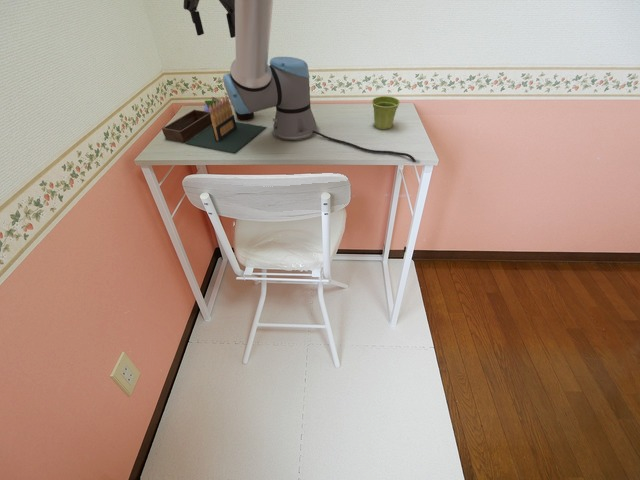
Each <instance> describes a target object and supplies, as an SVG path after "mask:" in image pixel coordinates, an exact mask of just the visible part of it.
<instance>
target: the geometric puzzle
mask: <svg viewBox="0 0 640 480" xmlns="http://www.w3.org/2000/svg"><path fill="white" fill-rule="evenodd" d="M219 99H220V98H217V97H214V96H212V97H211V100H207V99H206V100H204V106H203V107H204V108H203V111H207V112H210V110H209V105H211V107H212V109H213V103H214V104H215V106H216V101H217V102H218V103H219ZM222 104H223V103H222Z"/></svg>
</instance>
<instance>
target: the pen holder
mask: <svg viewBox="0 0 640 480" xmlns="http://www.w3.org/2000/svg"><path fill="white" fill-rule="evenodd" d="M211 125H212V121H211V115H210V112H207V111H204V110H200V109H192V110H190V111H189V112H187V113H186V114H184V115H182V116H180V117H179V118H177V119H175V120H173V121H171V122H170V123H168V124H167V125H165V126H163V127H162V128H161V130H162V133H163V136H164V138H165V140H166V141H171V142H177V143H182V144H186V142H187V141H189V140H190V139H192V138H193V137H195V136H196V135H198V134H199V133H201V132H202V131H204V130H205V129H207V128H208V127H210V126H211Z"/></svg>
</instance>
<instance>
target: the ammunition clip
mask: <svg viewBox="0 0 640 480" xmlns="http://www.w3.org/2000/svg"><path fill="white" fill-rule="evenodd" d="M218 99H219V103H218V102H217V101H216V106H215V104H214V103H213V109H212V107H211V105H209V110H210V115H211V121H212V125H213V126H212V129H213V133H214V137H215V141H221V140H223V139H224V138H225V137H227V136H228V135H229V134H231V133H232V132H234V131H235V130H236V129H237V126H236V122H237V121H236V118H235V115H234V114H233V109H232V105H231V102H230V99H229V97H228V94H226V95H225V96H222V99H221V98H218ZM222 103H223V104H222Z"/></svg>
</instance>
